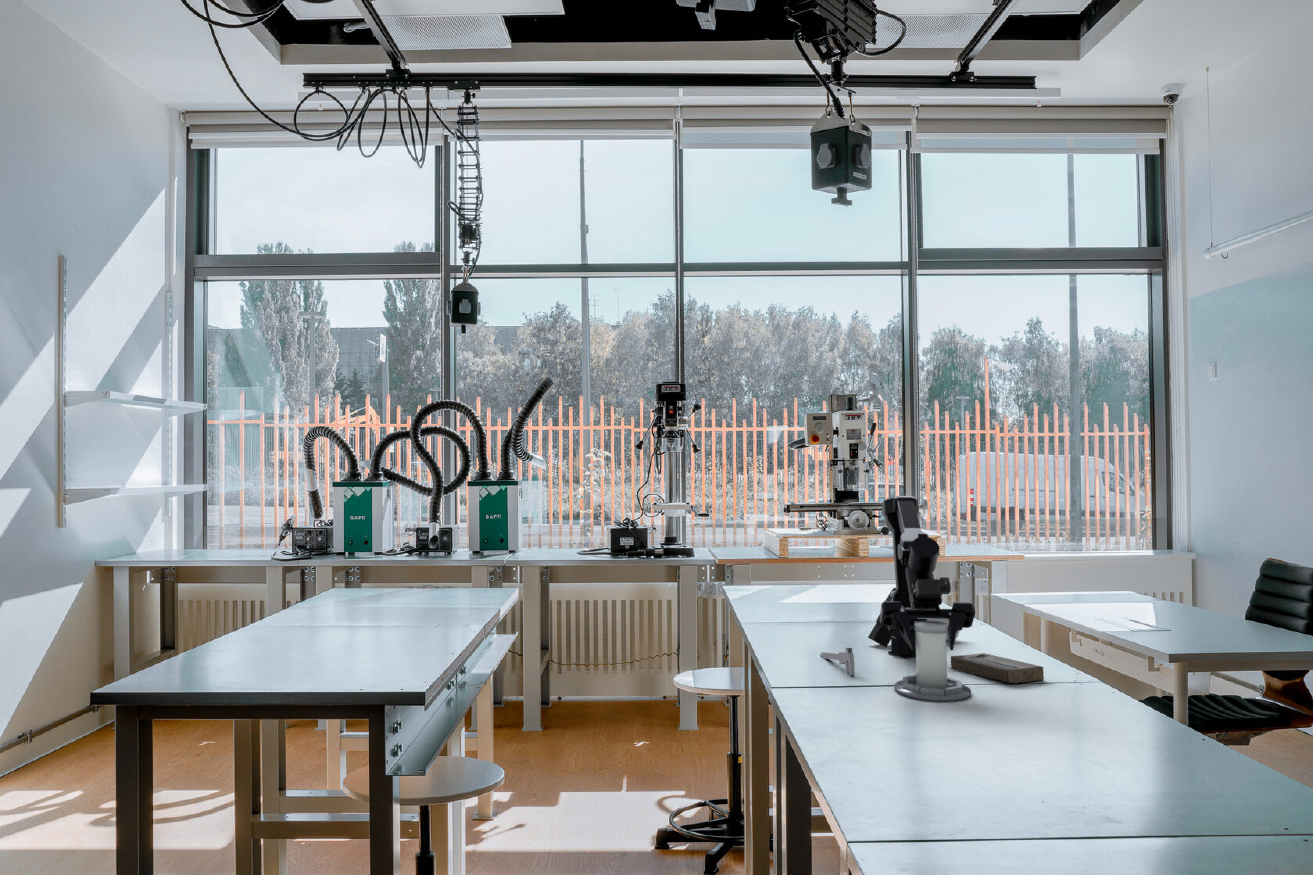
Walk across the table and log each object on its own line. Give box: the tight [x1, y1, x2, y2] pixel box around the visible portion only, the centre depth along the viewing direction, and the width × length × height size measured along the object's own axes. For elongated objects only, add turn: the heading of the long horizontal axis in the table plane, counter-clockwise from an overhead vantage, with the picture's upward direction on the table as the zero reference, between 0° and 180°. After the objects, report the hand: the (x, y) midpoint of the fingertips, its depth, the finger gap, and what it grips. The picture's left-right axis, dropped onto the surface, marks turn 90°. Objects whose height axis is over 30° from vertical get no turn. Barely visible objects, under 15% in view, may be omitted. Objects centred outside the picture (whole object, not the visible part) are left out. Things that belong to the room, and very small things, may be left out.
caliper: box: [819, 647, 856, 677], centre depth 193 cm, size 20×1×6 cm, turn 8°
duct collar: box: [893, 674, 972, 703], centre depth 170 cm, size 15×15×2 cm
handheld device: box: [867, 587, 960, 648], centre depth 217 cm, size 4×22×15 cm, turn 105°
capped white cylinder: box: [914, 621, 948, 689], centre depth 171 cm, size 6×6×13 cm
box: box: [950, 652, 1045, 685], centre depth 184 cm, size 11×17×3 cm, turn 23°
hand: (932, 649), depth 169 cm, fingers open, 7 cm apart
